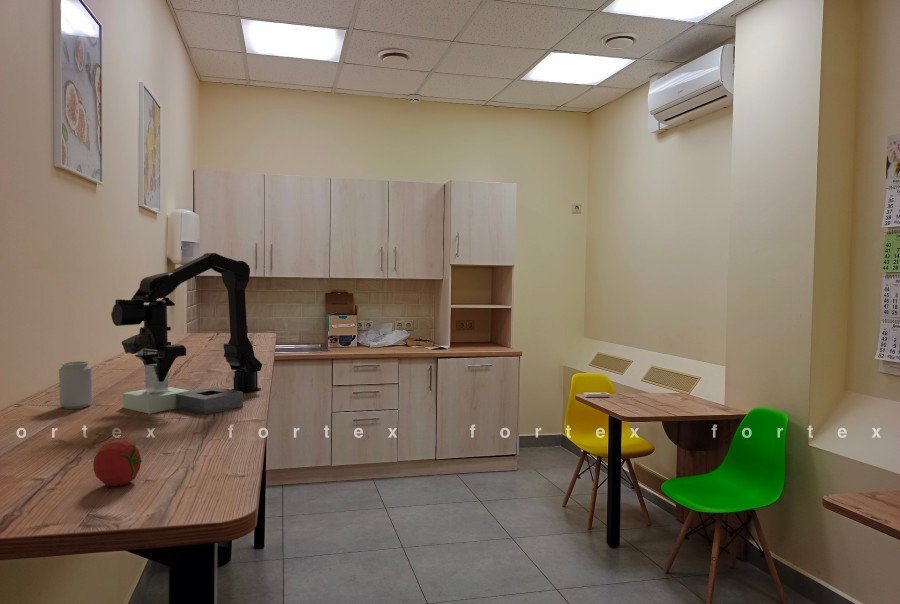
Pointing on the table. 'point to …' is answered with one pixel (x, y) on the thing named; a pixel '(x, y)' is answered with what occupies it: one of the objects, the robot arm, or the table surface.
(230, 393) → the mount
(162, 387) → the pin
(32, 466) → the table surface
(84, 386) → the can
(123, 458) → the tomato
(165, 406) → the dock
